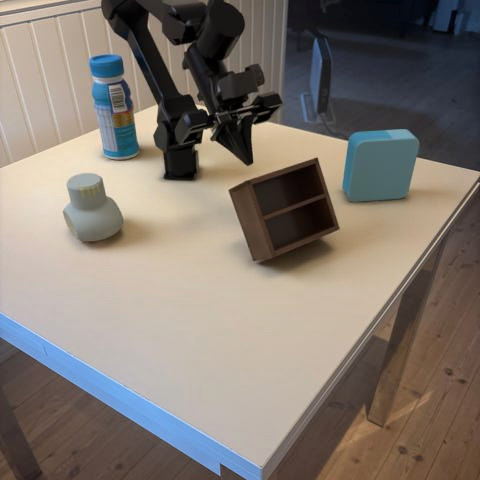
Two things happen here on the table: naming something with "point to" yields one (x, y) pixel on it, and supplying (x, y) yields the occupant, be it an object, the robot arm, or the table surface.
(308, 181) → the shelf
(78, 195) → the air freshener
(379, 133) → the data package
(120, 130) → the beverage bottle
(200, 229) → the table surface
